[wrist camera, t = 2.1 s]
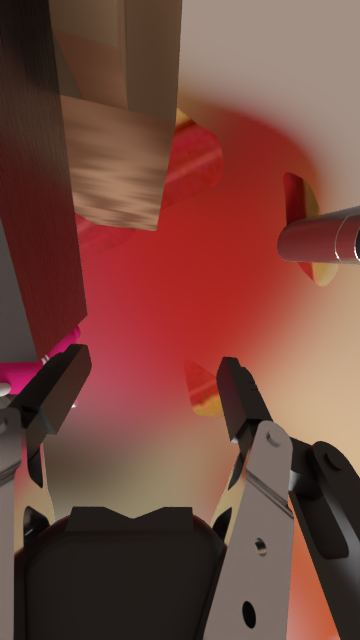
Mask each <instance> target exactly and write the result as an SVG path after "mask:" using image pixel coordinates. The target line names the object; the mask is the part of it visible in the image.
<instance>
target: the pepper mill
mask: <svg viewBox="0 0 360 640" xmlns="http://www.w3.org/2000/svg"><path fill="white" fill-rule="evenodd" d="M79 337H80V329H79V327H78V326H76V327H75V328H74V329H73V330H72V331H71V332H70V333H69V334H68V335H66V336H65V337H64V338H63V339H62V340H61V341H60V342H59V343H58V344H57V345H56V346H55V347H54V348H53V349H52V350H51V351H50V352H49V353H47V354H46V355H45V356H44V357H43V358H42V359H41V360H40V361H39V362H12V363H0V396H4V395H6V394H19V393H20V392H21V391H22V389H23V388H24V387H25V386H26V385H27V384H28V383H29V381H30V380H31V379H32V378H33V377H34V376H36V373H37V372H38V371H39V370H40V369H42V367H43V365H44V364H45V363H46V362H47V361H48V360H49V359H50V358H51V357H53V356H54V355H56V354H57V353H59V352H64V351H65V350H66V349H67V347H68V346H69V345H70V344H76V341H77V340H78V338H79Z"/></svg>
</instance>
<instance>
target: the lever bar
mask: <svg viewBox="0 0 360 640" xmlns="http://www.w3.org/2000/svg"><path fill="white" fill-rule="evenodd" d="M87 315H88V314H87V306H86V299H85V291H84V282H83V275H82V266H81V258H80V251H79V243H78V235H77V227H76V219H75V211H74V203H73V195H72V187H71V179H70V171H69V163H68V155H67V147H66V139H65V131H64V123H63V115H62V107H61V99H60V91H59V83H58V75H57V67H56V59H55V51H54V43H53V35H52V27H51V19H50V11H49V3H48V0H0V363H12V362H39V361H40V360H41V359H42V358H43V357H44V356H45V355H46V354H47V353H49V352H50V351H51V350H52V349H53V348H54V347H55V346H56V345H57V344H58V343H59V342H60V341H61V340H62V339H63V338H64V337H65V336H66V335H68V334H69V333H70V332H71V331H72V330H73V329H74V328H75V327H76V326H77V325H78V324H79V323H80V322H81V321H82V320H83V319H84V318H85V317H87Z"/></svg>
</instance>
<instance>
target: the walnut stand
mask: <svg viewBox="0 0 360 640" xmlns="http://www.w3.org/2000/svg"><path fill="white" fill-rule="evenodd" d="M48 3H49V11H50V19H51V27H52V35H53V43H54V51H55V59H56V67H57V75H58V83H59V91H60V99H61V107H62V115H63V123H64V131H65V139H66V147H67V155H68V163H69V171H70V179H71V187H72V195H73V203H74V211H75V213H77V214H79V215H80V216H82V217H84V218H86V219H88V220H90V221H91V222H93V223H95V224H99V225H108V226H117V227H126V228H135V229H144V230H153V231H156V229H157V223H158V217H159V212H160V207H161V201H162V196H163V190H164V184H165V179H166V173H167V168H168V162H169V157H170V151H171V146H172V140H173V135H174V129H175V124H176V110H177V91H178V70H179V52H180V32H181V14H182V0H48Z"/></svg>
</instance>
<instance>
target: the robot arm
mask: <svg viewBox="0 0 360 640" xmlns="http://www.w3.org/2000/svg"><path fill="white" fill-rule="evenodd" d="M277 249H278V253H279V255H280V256H281V258H282V259H284V260H286V261H296V262H315V263H335V264H358V265H360V206H356V207H352V208H348V209H343V210H339V211H335V212H331V213H326V214H322V215H318V216H313V217H309V218H305V219H300V220H296V221H293V222H291V223H289V224H288V225H287V226H286V227H285V228H284V229H283V231H282V232H281V234H280V236H279V239H278V243H277ZM91 367H92V363H91V358H90V355H89V350H88V346H87V345H83V344H70V345H69V346H68V347H67V349H66V350H65V351H64V352H59V353H57V354H56V355H54V356H53V357H51V358H50V359H49V360H48V361H47V362H46V363H45V364H44V365H43V367H42V369H40V370H39V371H38V372H37V373H36V376H34V377H33V378H32V379H31V380H30V381H29V383H28V384H27V385H26V386H25V387H24V388H23V389H22V391H21V392H20V393H19V394H18V395H17V396H16V397H15V399H14V400H13V401H12V402H11V403H10V404H9V405H8V406H7V407H6V408H3V409H0V640H286V632H287V618H288V603H289V590H290V577H291V562H292V548H293V535H294V517H293V513H292V511H291V510H290V509H289V507H288V501H287V500H288V494H289V497H290V500H291V503H292V505H293V508H294V511H295V514H296V516H297V519H298V522H299V525H300V528H301V531H302V533H303V536H304V539H305V541H306V544H307V547H308V550H309V553H310V556H311V558H312V561H313V564H314V566H315V569H316V572H317V575H318V578H319V581H320V583H321V586H322V589H323V592H324V595H325V598H326V600H327V603H328V606H329V609H330V611H331V614H332V617H333V620H334V623H335V625H336V628H337V631H338V634H339V637H340V639H341V640H360V478H359V476H358V475H357V473H356V472H355V470H354V469H353V467H352V465H351V464H350V462H349V461H348V460H347V458H346V457H345V456H344V455H343V454H342V453H341V452H340V451H339V450H338V449H337V448H335V447H334V446H332V445H330V444H329V443H326V442H323V441H318V442H316V443H314V444H313V445H309V444H307V443H304V442H302V441H299V440H297V439H294V438H292V437H289V436H288V434H287V433H286V432H285V430H284V429H283V428H281V427H280V426H279V425H278V424H276V423H274V422H273V420H272V418H271V416H270V414H269V411H268V409H267V407H266V405H265V403H264V401H263V398H262V396H261V394H260V392H259V391H258V388H257V385H256V384H255V381H254V379H253V377H252V375H251V373H250V372H249V371H248V370H247V369H246V368H245V367H241V366H240V364H239V362H238V359H237V358H233V357H223V358H222V361H221V364H220V366H219V369H218V372H217V376H216V381H217V386H218V391H219V395H220V399H221V403H222V408H223V412H224V416H225V420H226V425H227V428H228V433H229V437H230V441H231V442H236V443H238V444H239V448H240V450H239V452H238V455H237V457H236V460H235V463H234V466H233V469H232V472H231V475H230V477H229V480H228V483H227V486H226V489H225V491H224V493H223V496H222V497H221V499H220V502H219V503H218V506H217V508H216V511H215V513H214V516H213V519H212V522H211V524H210V526H209V525H208V524H207V523H206V522H205V521H204V520H202V519H201V518H199V517H197V516H195V515H193V513H192V507H163V508H160V509H158V510H155V511H153V512H150V513H148V514H145V515H143V516H140V517H137V518H134V519H132V518H128V517H126V516H124V515H122V514H119V513H117V512H115V511H112V510H110V509H108V508H105V507H73V508H72V511H71V514H70V515H68V516H66V517H64V518H62V519H60V520H58V521H56V522H55V521H54V520H55V519H54V511H53V505H52V501H51V498H50V495H49V493H48V488H47V481H46V471H45V463H44V453H43V444H42V442H43V440H44V438H45V437H46V435H47V434H54V435H56V434H57V433H58V431H59V429H60V427H61V425H62V423H63V421H64V420H65V418H66V416H67V414H68V412H69V411H70V408H71V407H72V405H73V403H74V401H75V400H76V398H77V395H78V394H79V392H80V390H81V388H82V386H83V385H84V383H85V381H86V379H87V377H88V376H89V374H90V371H91Z"/></svg>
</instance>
